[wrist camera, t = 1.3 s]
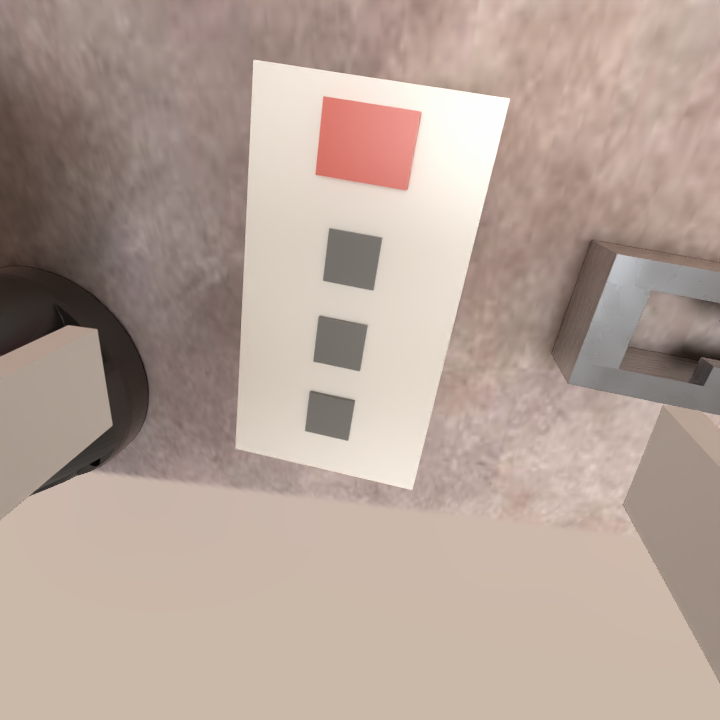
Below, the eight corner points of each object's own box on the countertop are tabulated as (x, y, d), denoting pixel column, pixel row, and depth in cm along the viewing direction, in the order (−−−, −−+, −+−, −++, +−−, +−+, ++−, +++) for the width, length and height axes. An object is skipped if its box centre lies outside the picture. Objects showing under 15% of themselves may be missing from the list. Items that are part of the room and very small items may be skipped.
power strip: (421, 403, 29) (411, 499, 21) (289, 375, 30) (229, 457, 22) (488, 118, 22) (512, 95, 14) (316, 92, 23) (245, 55, 15)
